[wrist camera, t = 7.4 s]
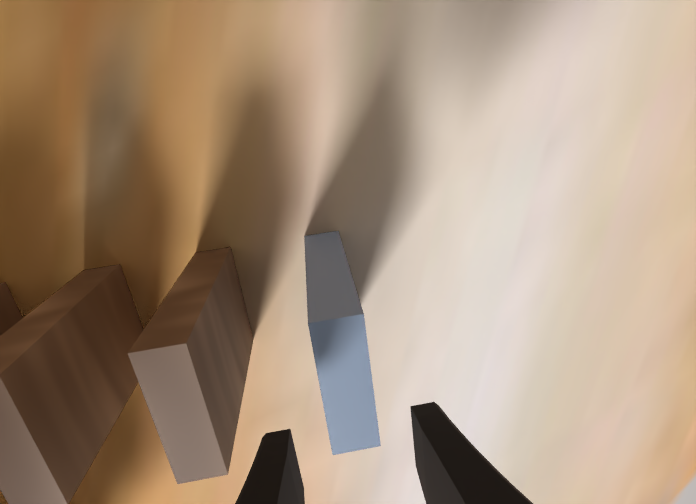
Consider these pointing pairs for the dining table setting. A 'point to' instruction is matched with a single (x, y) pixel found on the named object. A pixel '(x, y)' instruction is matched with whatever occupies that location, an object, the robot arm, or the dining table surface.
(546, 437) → the dining table surface
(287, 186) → the dining table surface
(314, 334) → the domino
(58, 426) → the domino
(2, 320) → the domino
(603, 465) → the dining table surface
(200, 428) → the domino
